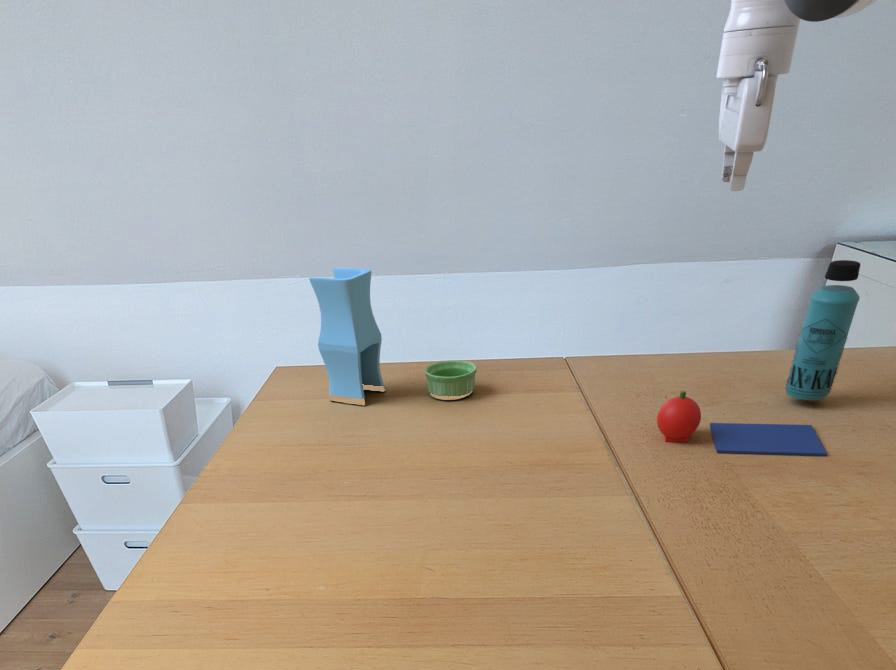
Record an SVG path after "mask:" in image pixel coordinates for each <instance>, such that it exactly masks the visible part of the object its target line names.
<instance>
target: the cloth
mask: <svg viewBox="0 0 896 670" xmlns="http://www.w3.org/2000/svg"><path fill="white" fill-rule="evenodd" d="M709 427H710V432H711V435H712V440H713V443H714V447H715V451H716V454H741V455H742V454H743V455H744V454H745V455H773V456H774V455H779V456H807V457H808V456H810V457H813V456H814V457H827V454H828V453H827V451H826V449H825V447H824V446H823V444H822V442H821V440H820V438H819V437H818V434H817V432H816V431H815V429H814V427H813V425H812V424H791V423H790V424H786V423H785V424H784V423H781V424H780V423H739V422H738V423H737V422H735V423H733V422H710V423H709Z"/></svg>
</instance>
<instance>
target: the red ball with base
mask: <svg viewBox="0 0 896 670" xmlns="http://www.w3.org/2000/svg"><path fill="white" fill-rule="evenodd" d="M701 411H702V410H701V408H700V405H699V404H698V403H697V402H696V401H695V400H694V399H692V398H691V397H688V396H687V391H685V390H682V391H680V392H679V395H678V396H675V397H671V398H669V399H668V400H666V401H665V402H664V403H663V404H662V405H661V406H660V408H659V410H658V412H657V416H656V424H657V425H656V426H657V429H658V430H659V432H660V433H661V434H662V435H663V436H664V442H667V443H687V442H688V437H690V436H691V435H693V434H694V433H695V432H696V431H697V429H698V428H699V427H700V424H701V419H702V412H701Z"/></svg>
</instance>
